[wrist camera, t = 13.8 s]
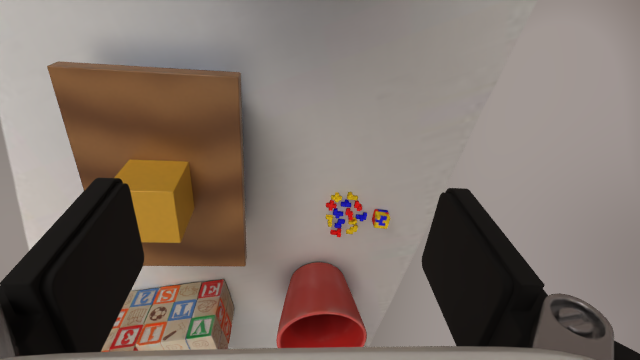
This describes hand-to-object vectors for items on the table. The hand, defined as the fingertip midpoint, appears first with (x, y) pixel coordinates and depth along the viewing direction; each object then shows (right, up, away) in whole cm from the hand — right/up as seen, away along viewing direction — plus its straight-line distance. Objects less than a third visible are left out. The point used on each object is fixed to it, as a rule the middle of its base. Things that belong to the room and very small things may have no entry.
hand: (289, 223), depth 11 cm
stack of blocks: (-23, -16, +41) cm, 50 cm away
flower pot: (+1, -13, +41) cm, 43 cm away
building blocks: (+5, -3, +35) cm, 36 cm away
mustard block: (-13, +1, +21) cm, 25 cm away
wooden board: (-13, +2, +23) cm, 26 cm away
